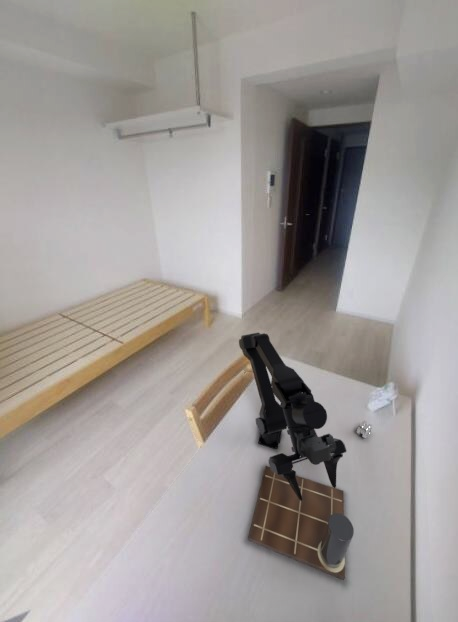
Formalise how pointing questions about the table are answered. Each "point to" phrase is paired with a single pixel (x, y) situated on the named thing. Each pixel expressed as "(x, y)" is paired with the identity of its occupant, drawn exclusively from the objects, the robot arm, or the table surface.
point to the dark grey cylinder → (336, 540)
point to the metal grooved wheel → (364, 429)
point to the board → (296, 519)
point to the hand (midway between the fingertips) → (317, 493)
